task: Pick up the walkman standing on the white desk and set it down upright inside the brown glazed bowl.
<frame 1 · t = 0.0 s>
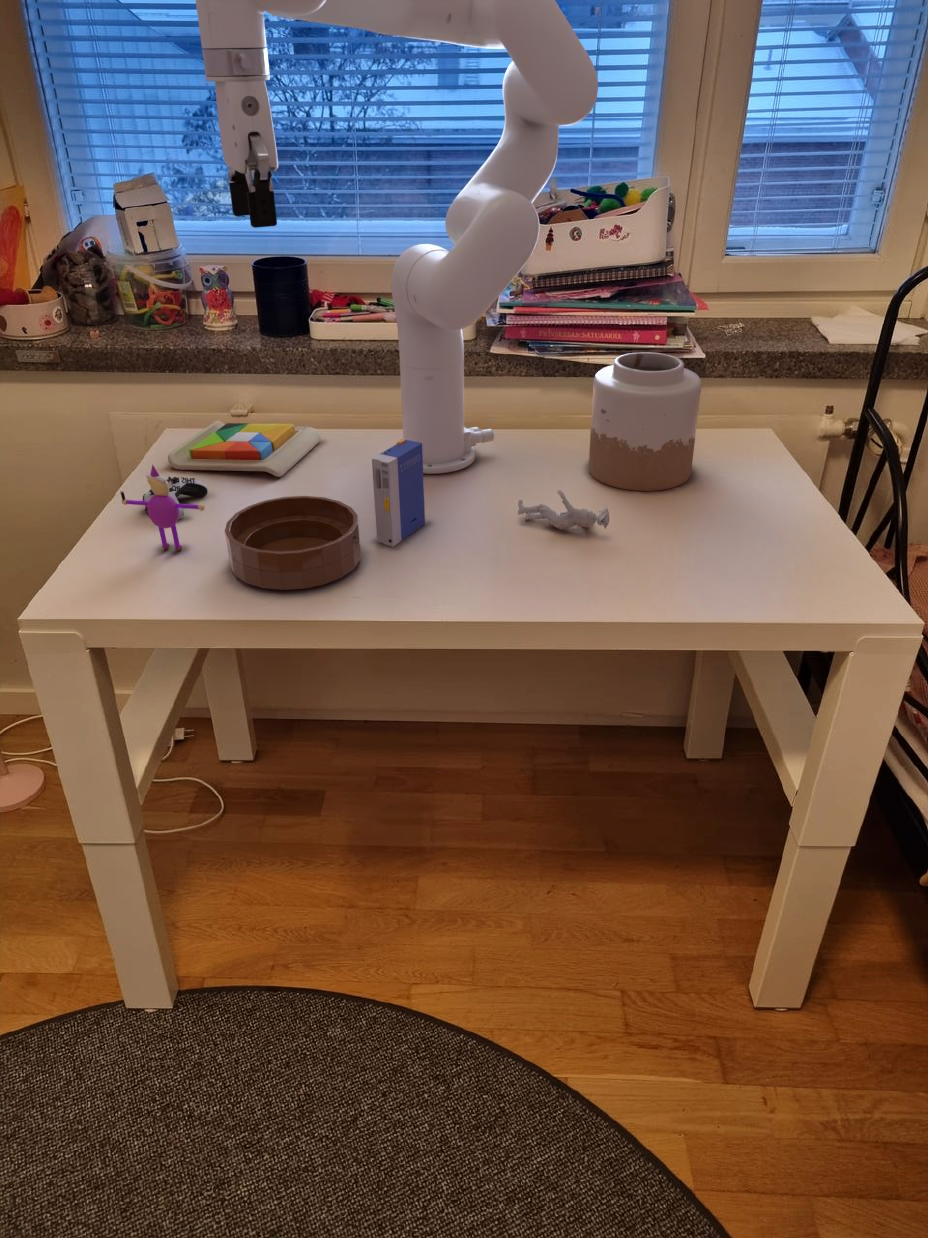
hand: (254, 220, 124), 37 cm above the table, tool pointing down, fingers open, 9 cm apart
soldier figure: (562, 529, 130), on the table
wooden puzzle: (247, 455, 154), on the table
wizard figurine: (170, 552, 125), on the table
vase: (639, 472, 146), on the table
bowl: (296, 562, 122), on the table
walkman: (401, 534, 129), on the table
game controller: (175, 507, 137), on the table
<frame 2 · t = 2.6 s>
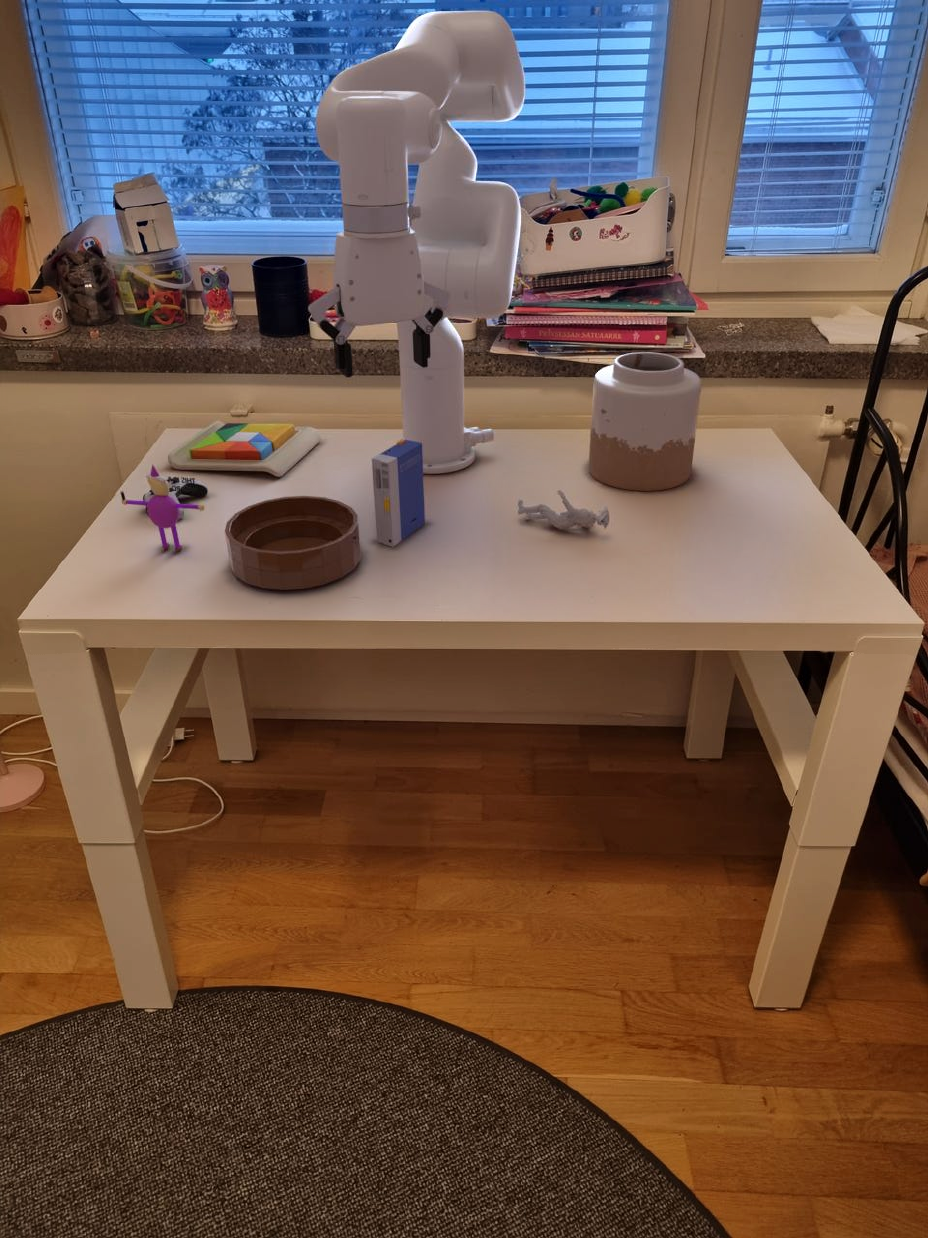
hand: (384, 369, 118), 22 cm above the table, tool pointing down, fingers open, 9 cm apart
nothing on the table moved.
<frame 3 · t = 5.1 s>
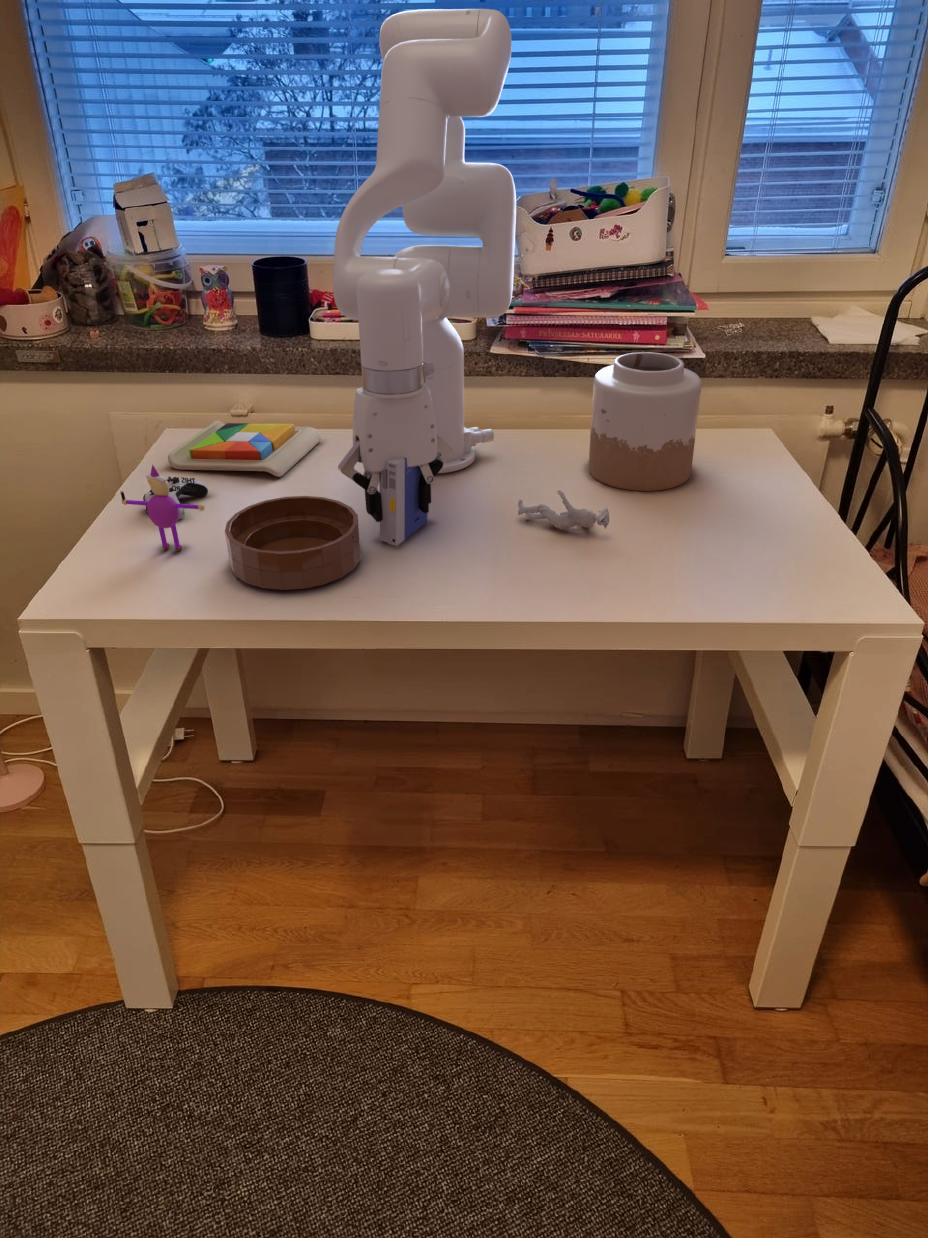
hand: (399, 512, 127), 3 cm above the table, tool pointing down, fingers closed on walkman, 5 cm apart
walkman: (404, 532, 129), on the table, touching gripper
everything else where it was.
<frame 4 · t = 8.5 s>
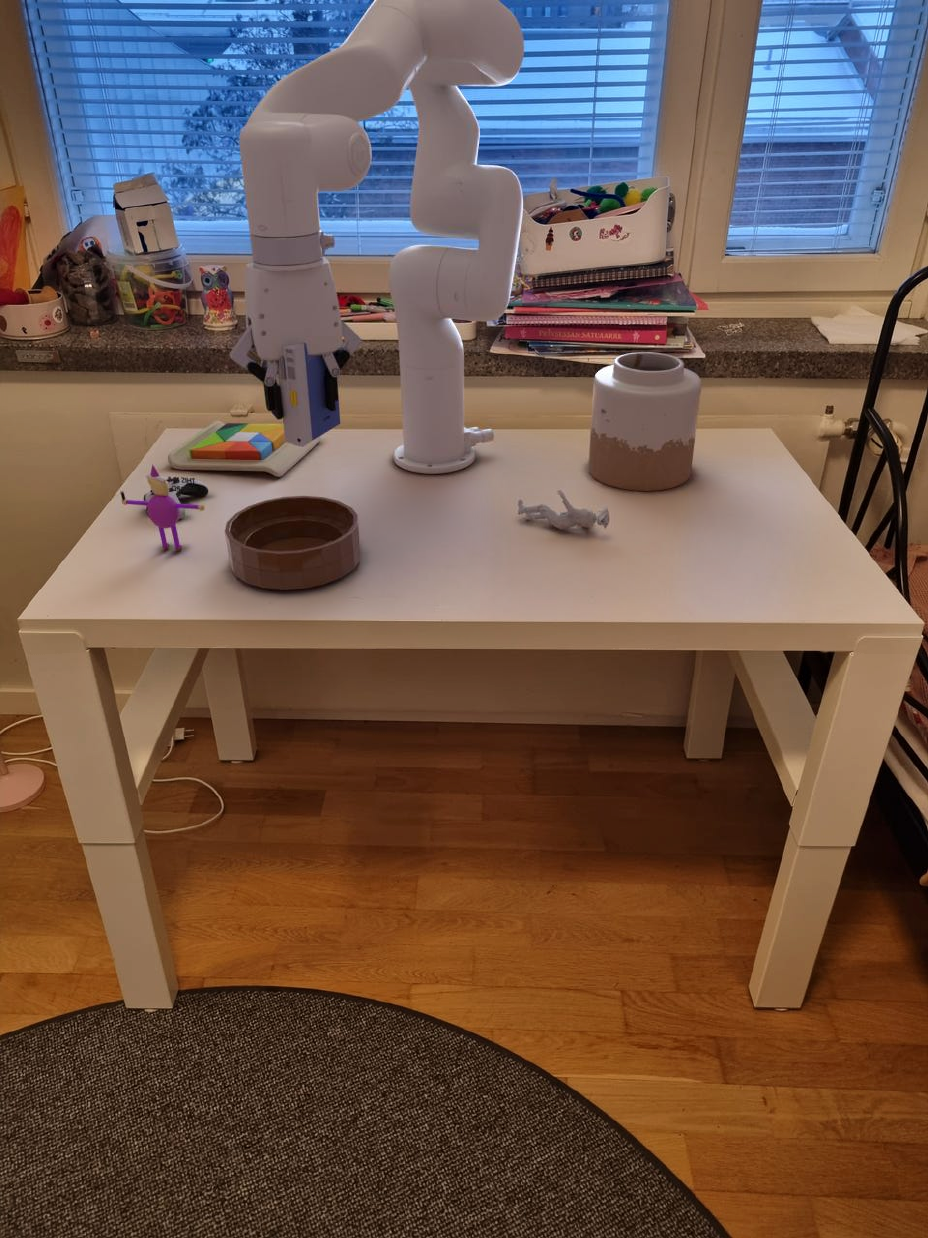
hand: (303, 410, 113), 19 cm above the table, tool pointing down, fingers closed on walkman, 5 cm apart
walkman: (313, 434, 116), point 16 cm above the table, touching gripper
everything else where it was.
when the fingers open (4 cm above the table, at t = 12.2 s): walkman stays where it is, resting on bowl.
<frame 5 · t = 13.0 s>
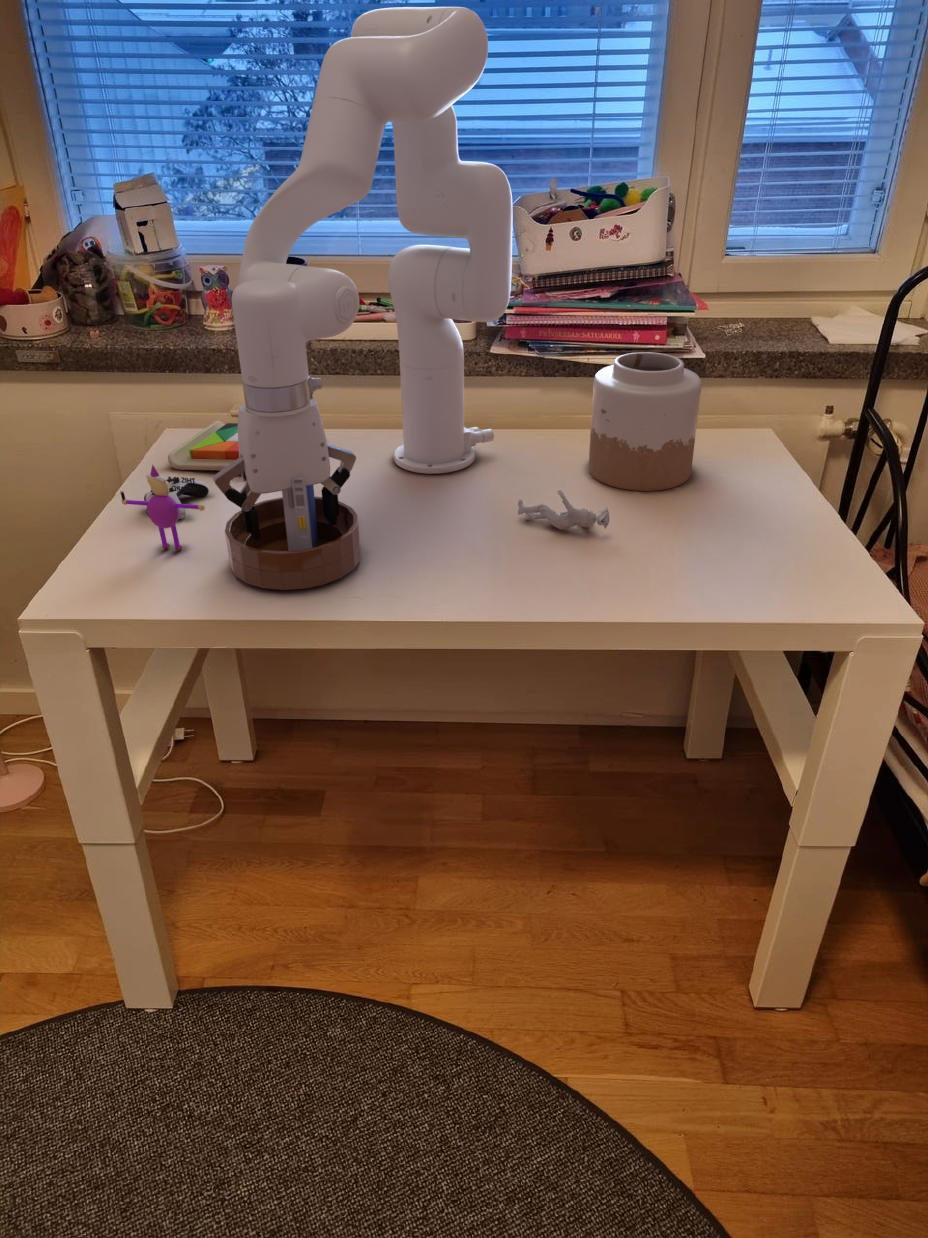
hand: (293, 528, 120), 5 cm above the table, tool pointing down, fingers open, 9 cm apart
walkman: (304, 552, 124), resting on bowl
everything else where it was.
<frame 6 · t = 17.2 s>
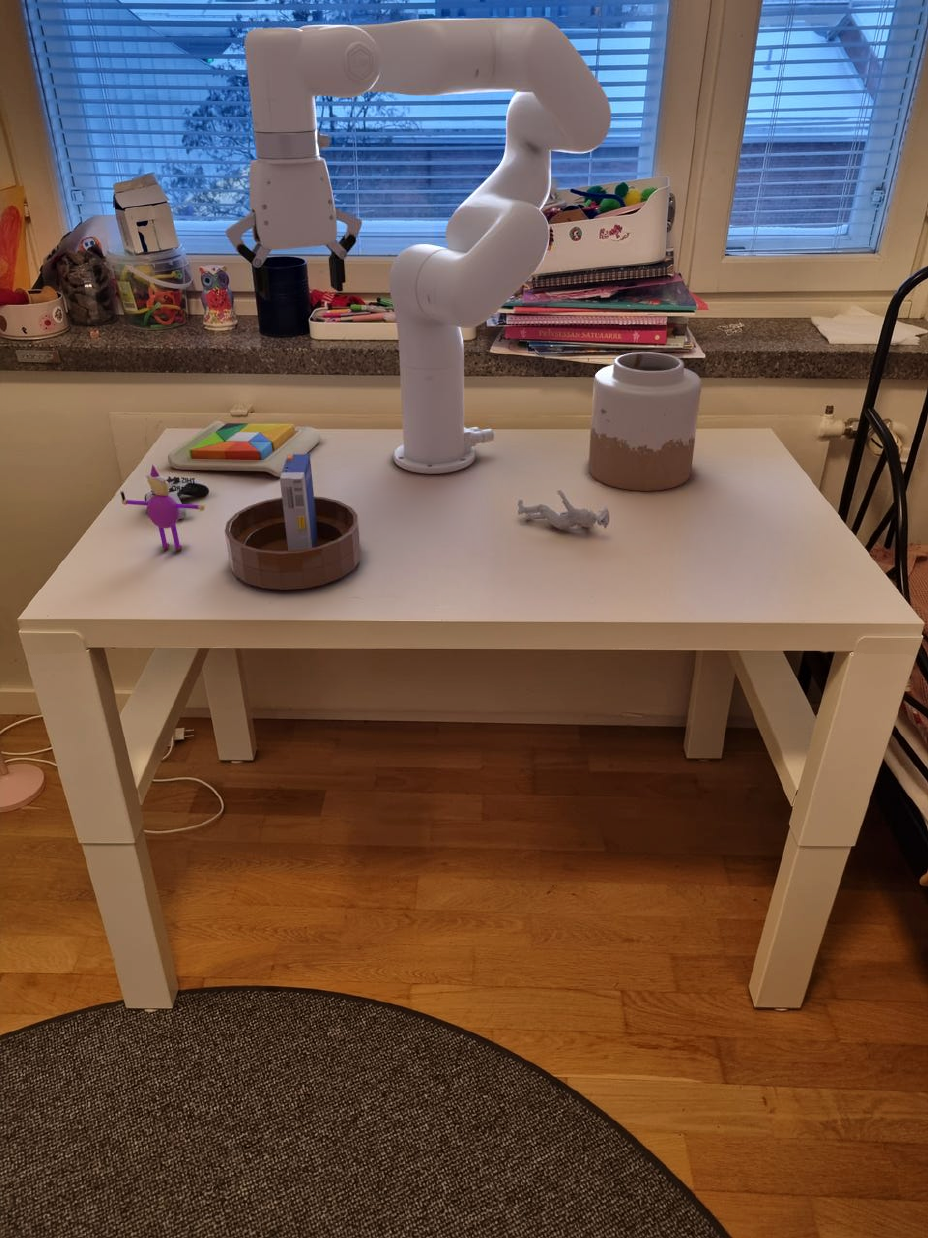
hand: (301, 293, 125), 28 cm above the table, tool pointing down, fingers open, 9 cm apart
nothing on the table moved.
at the end: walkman inside the target area in the bowl (2.1 cm from its centre), point 0.4 cm above the bowl's base; the gripper is holding nothing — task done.
